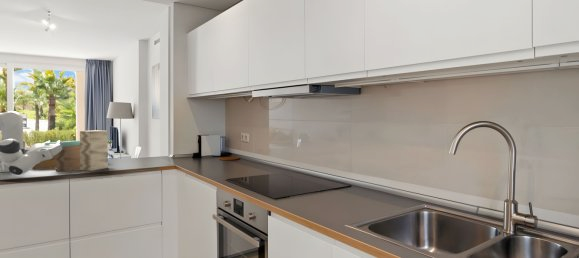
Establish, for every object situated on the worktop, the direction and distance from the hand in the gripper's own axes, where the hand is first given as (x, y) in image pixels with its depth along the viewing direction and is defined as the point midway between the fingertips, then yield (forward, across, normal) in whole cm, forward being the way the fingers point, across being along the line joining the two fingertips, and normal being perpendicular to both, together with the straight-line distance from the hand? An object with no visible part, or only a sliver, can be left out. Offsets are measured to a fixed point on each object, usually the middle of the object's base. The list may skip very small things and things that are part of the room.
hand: (55, 141), depth 217 cm
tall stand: (+5, +13, -26) cm, 29 cm away
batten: (+3, 0, -6) cm, 7 cm away
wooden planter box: (+6, -26, -27) cm, 38 cm away
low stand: (-1, 0, -22) cm, 22 cm away
